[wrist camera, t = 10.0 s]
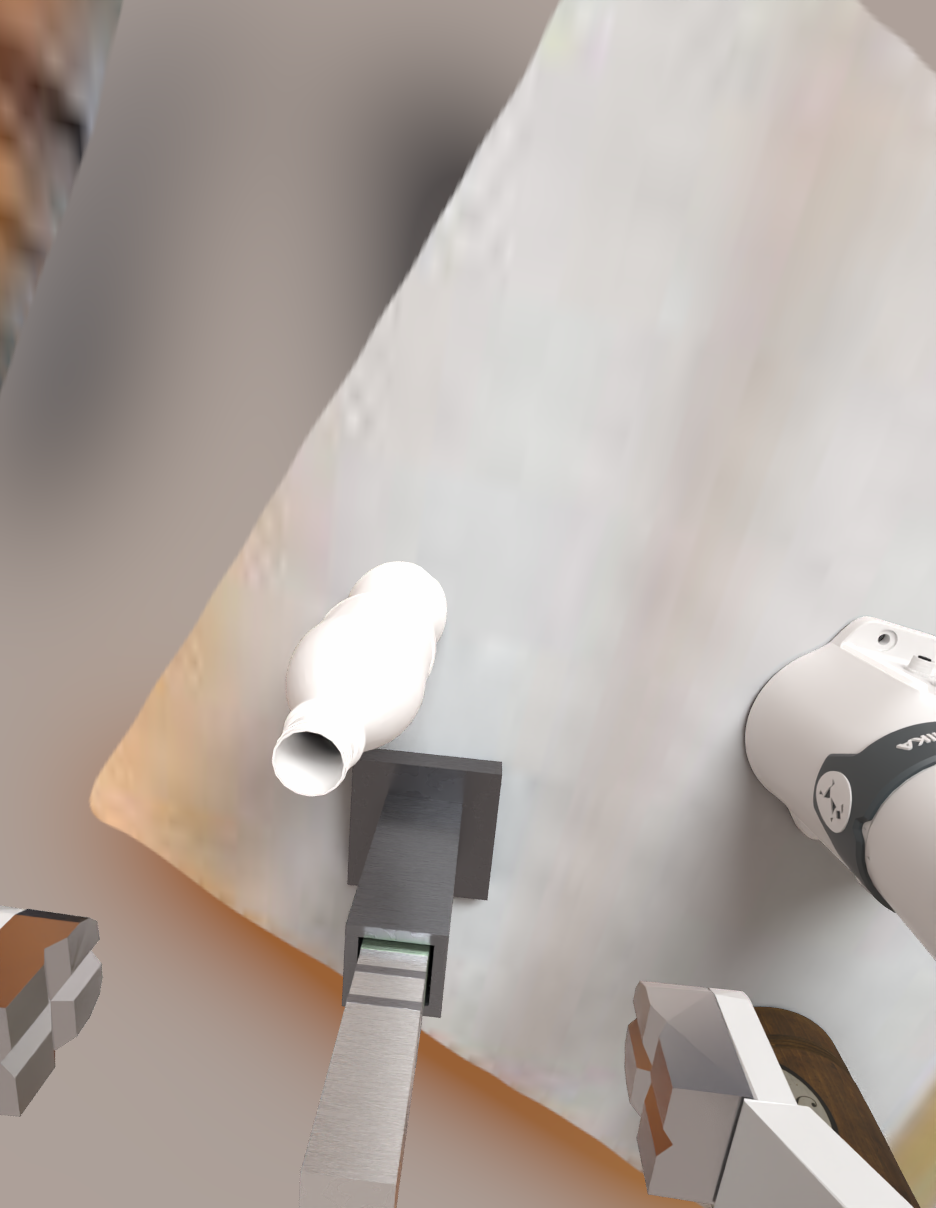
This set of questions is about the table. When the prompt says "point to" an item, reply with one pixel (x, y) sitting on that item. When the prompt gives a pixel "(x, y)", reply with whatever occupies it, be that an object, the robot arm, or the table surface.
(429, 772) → the stand
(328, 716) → the water bottle
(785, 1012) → the wooden container
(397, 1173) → the column
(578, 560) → the table surface
